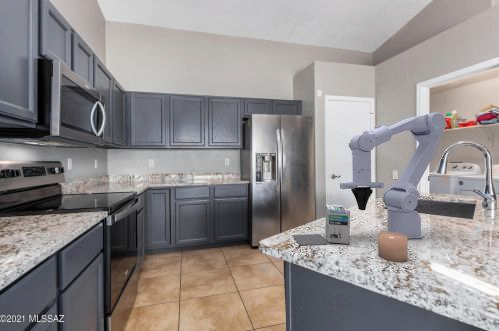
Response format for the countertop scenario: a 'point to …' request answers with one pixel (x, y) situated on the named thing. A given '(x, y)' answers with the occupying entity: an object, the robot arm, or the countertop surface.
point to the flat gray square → (310, 239)
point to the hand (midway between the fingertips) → (361, 209)
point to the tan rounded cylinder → (393, 246)
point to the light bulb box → (337, 224)
